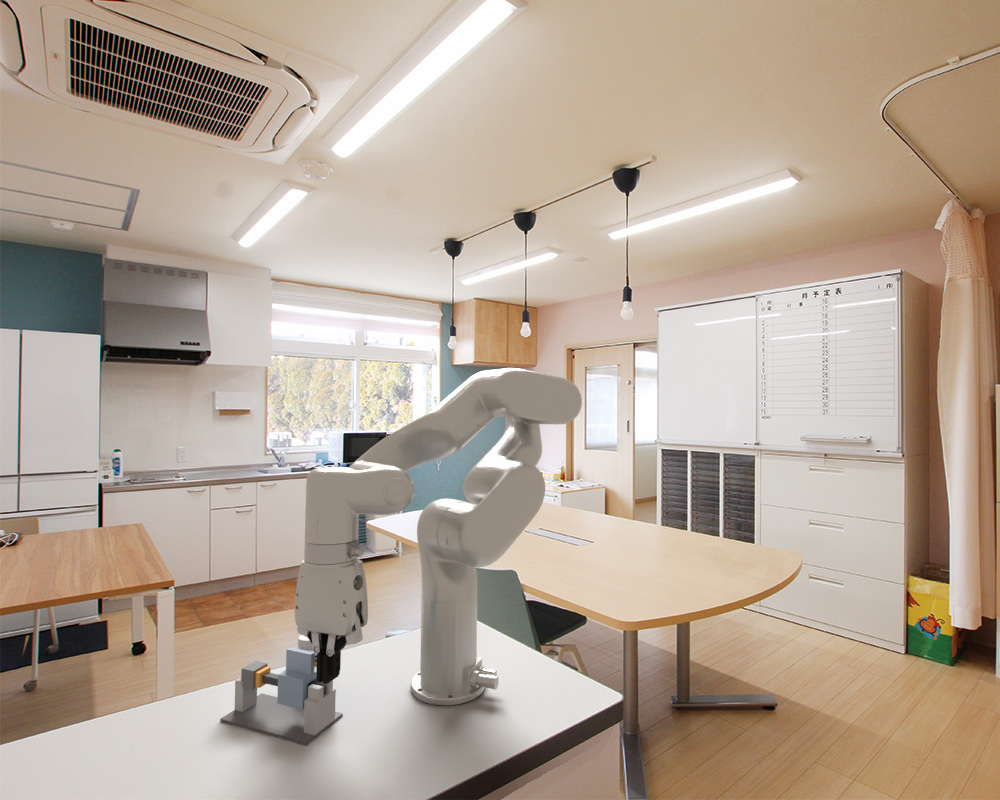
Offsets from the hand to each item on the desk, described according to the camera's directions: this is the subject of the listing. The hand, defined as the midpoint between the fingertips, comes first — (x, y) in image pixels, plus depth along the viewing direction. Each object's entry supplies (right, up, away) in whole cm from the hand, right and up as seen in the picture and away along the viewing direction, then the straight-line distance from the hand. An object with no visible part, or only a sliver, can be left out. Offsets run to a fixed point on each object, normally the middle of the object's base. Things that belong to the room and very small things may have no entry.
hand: (328, 678), depth 78 cm
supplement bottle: (-7, -8, +13) cm, 17 cm away
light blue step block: (-5, -4, +2) cm, 7 cm away
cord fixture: (-8, -8, +3) cm, 11 cm away
